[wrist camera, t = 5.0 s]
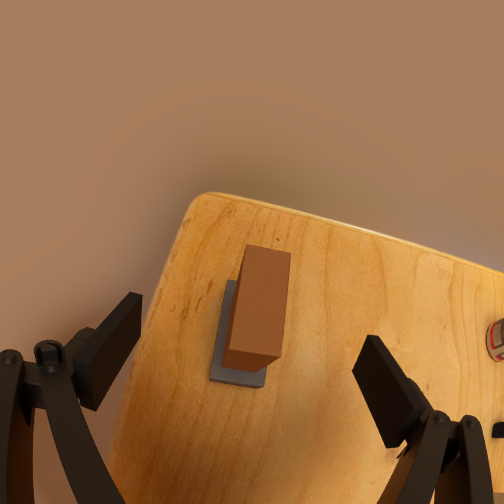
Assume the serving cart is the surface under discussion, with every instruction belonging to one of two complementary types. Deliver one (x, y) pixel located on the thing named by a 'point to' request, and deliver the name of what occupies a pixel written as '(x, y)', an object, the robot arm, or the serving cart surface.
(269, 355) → the chalk eraser
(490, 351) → the pill bottle
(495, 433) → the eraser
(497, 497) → the can
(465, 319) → the serving cart surface
